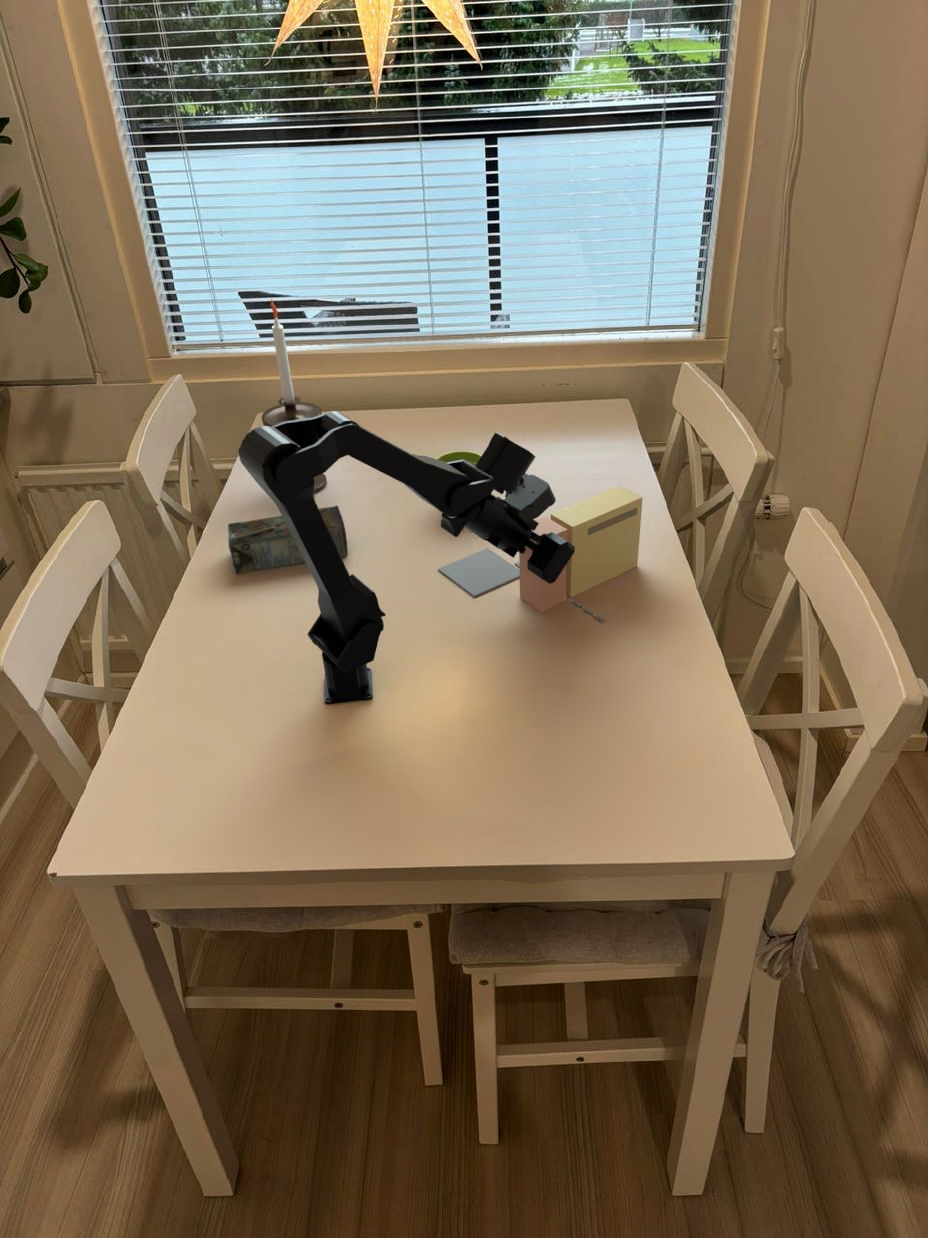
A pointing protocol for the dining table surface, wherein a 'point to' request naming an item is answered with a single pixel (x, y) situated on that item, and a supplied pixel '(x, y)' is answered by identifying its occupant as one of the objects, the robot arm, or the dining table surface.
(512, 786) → the dining table surface
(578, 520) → the block
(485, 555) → the coaster
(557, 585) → the stub
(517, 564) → the perforation marks
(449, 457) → the plant pot
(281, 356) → the candlestick
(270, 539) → the beverage carton
